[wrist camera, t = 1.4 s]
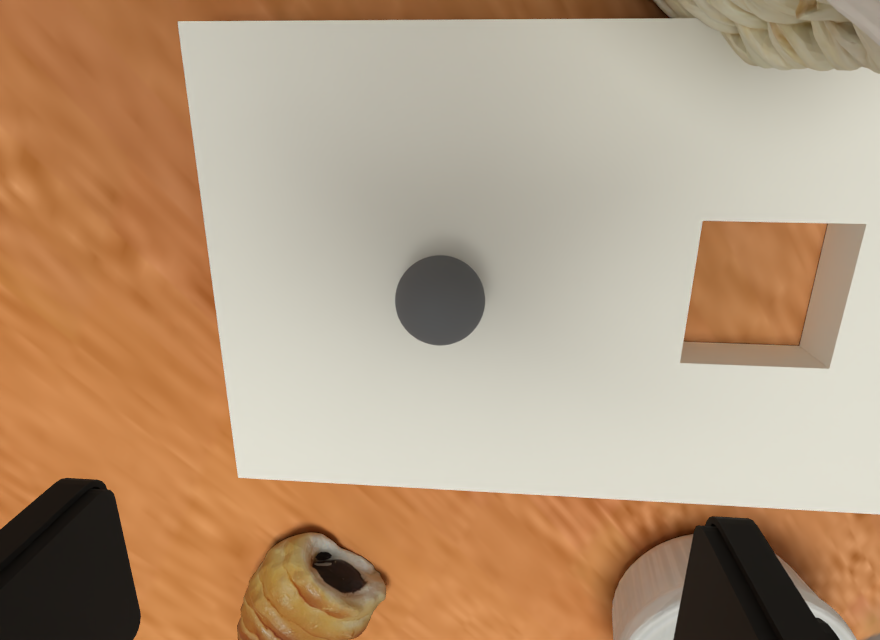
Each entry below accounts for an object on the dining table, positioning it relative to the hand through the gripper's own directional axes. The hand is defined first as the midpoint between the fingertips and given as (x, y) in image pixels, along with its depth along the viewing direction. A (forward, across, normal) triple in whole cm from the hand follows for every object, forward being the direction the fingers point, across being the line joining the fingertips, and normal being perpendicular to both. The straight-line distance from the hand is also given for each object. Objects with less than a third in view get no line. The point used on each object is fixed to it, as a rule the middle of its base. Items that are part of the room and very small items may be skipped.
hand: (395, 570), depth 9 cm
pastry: (+19, +8, +19) cm, 28 cm away
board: (+18, -6, 0) cm, 19 cm away
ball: (+14, 0, 0) cm, 14 cm away
